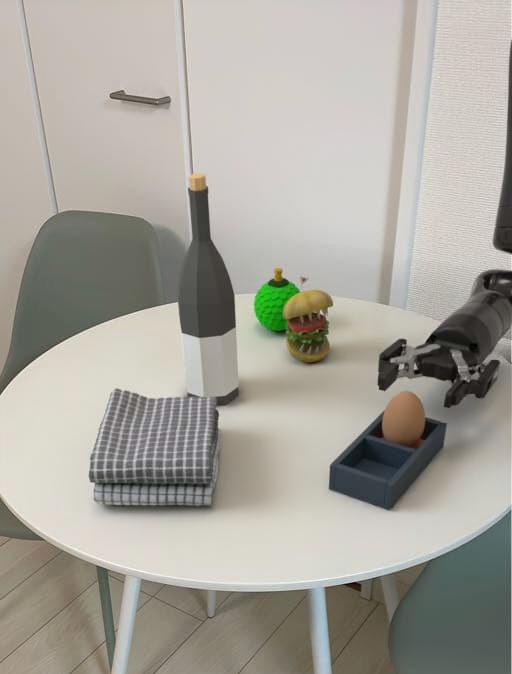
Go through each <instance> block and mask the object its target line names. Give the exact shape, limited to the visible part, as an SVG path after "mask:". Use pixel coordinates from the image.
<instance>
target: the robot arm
mask: <svg viewBox="0 0 512 674" xmlns="http://www.w3.org/2000/svg"><path fill="white" fill-rule="evenodd" d="M508 55H509V56H508V81H507V82H508V83H507V84H508V85H507V112H506V113H507V114H506V138H505V153H504V165H503V174H502V180H501V188H500V194H499V200H498V204H497V211H496V217H495V223H494V228H493V234H492V245H493V248H494V249H495V250H497V251H499V252H501V253H504V254H509V255H512V38H511V40H510V45H509V54H508ZM511 327H512V270H511V269H499V268H492V269H487V270H484V271H482V272H480V273H479V274H478V275H477V276H476V277H475V278H474V281H473V283H472V286H471V290H470V295H469V297H468V300H467V301H466V302H464V304H463V305H462V306H461V307H459V308H458V309H456V310H455V311H453V312H452V313H451V314H450V315H449V316H448V317H447V318H446V319H445V320H444V321H443V322H441V323H440V325H439V326H437V327H436V328H435V329H434V330H433V331H432V332H431V334H430V335H428V337H427V339H426V341H425V342H424V343H422V344H419V345H417V346H411V345H407V343H408V340H407V339H406V338H398V339H397V340H396V341H394V342H392V343H391V344H390V345H389V346H388V347H387V348H386V349H384V350H383V351H381V352H380V353H379V356H378V357H379V358H378V367H377V372H378V375H377V385H376V386H378V390H379V391H381V392H386V391H387V390H388V389H389V388H390V387H391V386H392V385H393V384H394V383H396V381H397V379H402V378H407V379H408V380H413V379H417V378H422V377H425V378H432V379H436V380H439V381H441V382H446V381H447V382H449V385H450V387H449V388H448V389H447V391H446V392H445V395H444V396H445V397H444V402H443V408H446V409H449V410H450V409H451V408H452V407H457V406H458V405H460V403H461V402H462V401H463V400H464V399H465V398H469V397H470V395H474V397H475V398H476V399H480V400H483V399H485V398H486V396H487V395H488V393H489V392H490V391H491V389H492V388H493V386H494V385H495V383H496V382H497V380H498V376H499V370H500V365H501V361H500V360H499V359H490V361H489V362H485V363H484V361H485V360H486V359H487V358H488V356H489V355H491V354H492V353H493V351H494V349H496V347H497V345H498V343H499V342H500V340H501V339H502V338H503V337H504V336H505V335H506V334H507V333H508V331H509V330H510V329H511ZM400 365H403V368H402V369H400ZM415 366H416V369H415ZM475 374H478V378H477V379H474V378H473V376H474V375H475Z"/></svg>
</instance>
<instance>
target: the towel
mask: <svg viewBox="0 0 512 674" xmlns="http://www.w3.org/2000/svg"><path fill="white" fill-rule="evenodd" d="M216 405H217V398H215V397H201V398H199V397H188V396H184V397H180V396H177V397H172V396H170V397H159V398H155V397H150V398H149V397H147V396H145V395H140V394H138V393H137V392H133V391H132V392H131V391H129V390H126V389H125V390H122V389H121V388H114V389H112V391H111V392H110V395H109V398H108V403H107V404H106V408H105V412H104V415H103V417H102V420H101V422H100V424H99V428H98V433H97V437H96V439H95V443H94V445H93V449H92V452H91V453H90V457H89V460H90V464H89V471H88V478H89V482H90V483H93V484H94V488H93V501H94V502H95V503H96V504H98V505H99V504H102V505H108V506H109V505H110V506H111V505H116V506H122V505H124V506H131V505H132V506H148V505H149V506H176V505H177V506H196V507H199V506H212V504H213V492H214V491H215V490H214V489H215V486H216V483H217V479H218V475H219V460H218V455H219V452H220V441H221V440H220V439H221V429H220V428H219V417H220V411H219V410H218V409H217V406H216Z"/></svg>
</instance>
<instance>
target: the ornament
mask: <svg viewBox="0 0 512 674" xmlns="http://www.w3.org/2000/svg"><path fill="white" fill-rule="evenodd" d="M283 272H284V270H283V268H281V267H276V268H274V270H273V273H274V278H271V279H269V281H267V282H265V283H263V284H261V287H260V288H259V289H258V290H257V293H255V295H254V301H253V306H254V308H253V312H254V314H255V318H256V319H257V320H258V321H259V322H258V323H260V324H261V325H262V326H263V327H265V328H266V329H267V330H271V331H275V332H281V331H285V330H286V328H285V324H286V322H287V321H289V319H285V318H284V317H283V308H284V305H285V304H286V302H287V301H288V300H289V299H290V298H291V297H293V296H294V295H296V294H298V293H300V292H301V291H300V289H299V287H297V286H296V284H295V283H294V282H291V281H289V280H288V278H285V277H283V276H282V274H283Z"/></svg>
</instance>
